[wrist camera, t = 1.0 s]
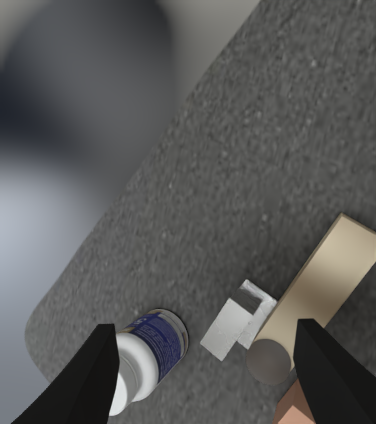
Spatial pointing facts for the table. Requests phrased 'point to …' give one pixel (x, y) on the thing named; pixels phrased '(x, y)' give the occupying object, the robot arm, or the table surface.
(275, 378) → the birch leg
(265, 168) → the table surface
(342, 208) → the table surface
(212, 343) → the hinge bracket
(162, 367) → the pill bottle
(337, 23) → the table surface
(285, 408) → the block
